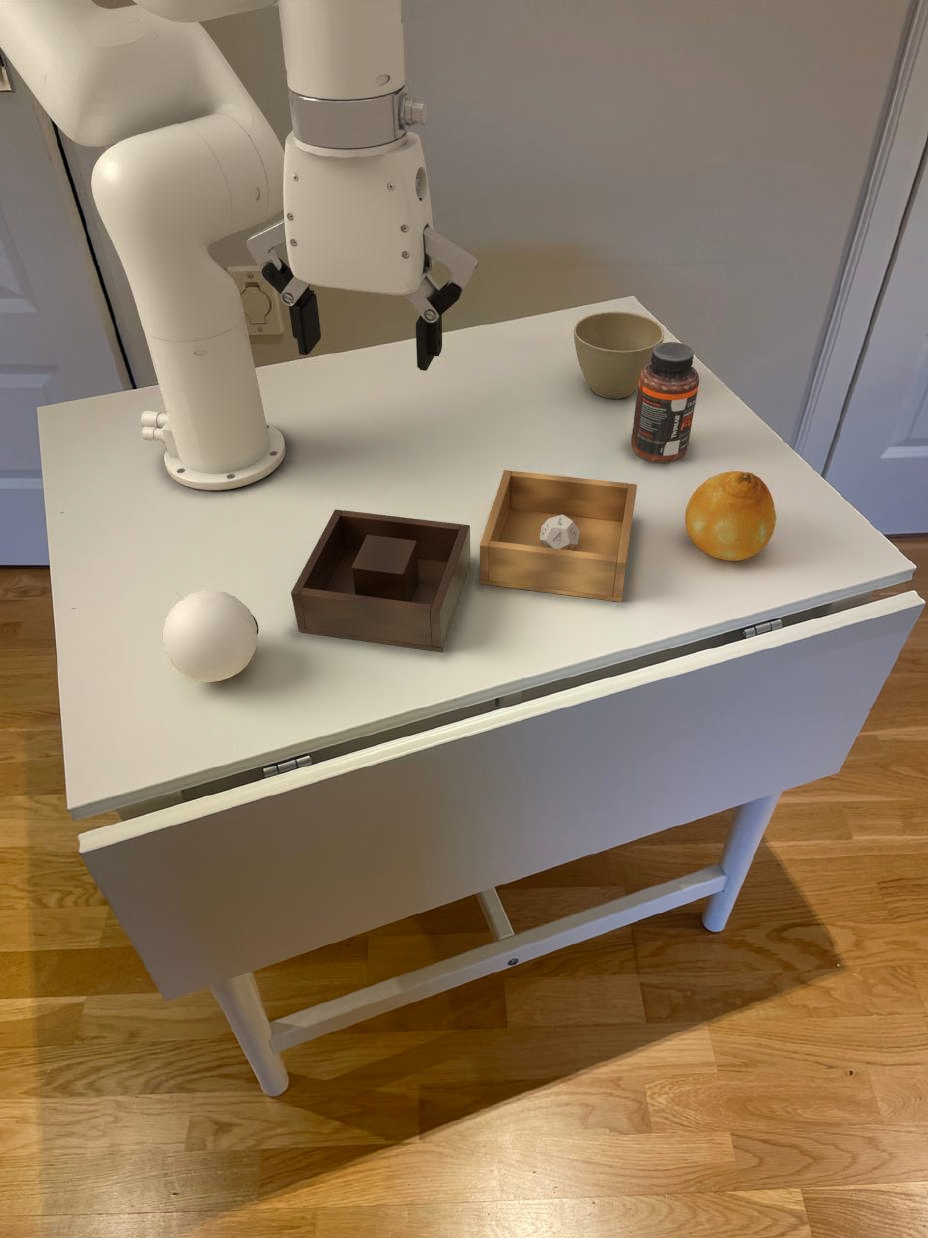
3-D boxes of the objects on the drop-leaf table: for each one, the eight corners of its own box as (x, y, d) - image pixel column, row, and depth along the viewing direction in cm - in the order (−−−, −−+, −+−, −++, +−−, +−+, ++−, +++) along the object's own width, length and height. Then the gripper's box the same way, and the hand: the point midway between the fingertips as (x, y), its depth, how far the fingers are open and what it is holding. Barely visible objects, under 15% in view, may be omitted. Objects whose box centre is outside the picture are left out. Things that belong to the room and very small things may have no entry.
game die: (580, 537, 85) (582, 512, 83) (574, 562, 83) (577, 537, 81) (543, 533, 86) (544, 507, 84) (536, 557, 83) (537, 532, 81)
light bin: (480, 584, 82) (479, 544, 78) (503, 507, 90) (504, 469, 87) (621, 602, 79) (626, 562, 76) (632, 522, 88) (637, 483, 84)
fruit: (797, 557, 80) (789, 466, 78) (708, 574, 79) (697, 483, 77) (760, 544, 88) (751, 461, 86) (678, 560, 87) (668, 477, 85)
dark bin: (298, 631, 78) (290, 592, 74) (340, 547, 86) (334, 508, 83) (441, 652, 75) (439, 612, 72) (470, 563, 84) (470, 524, 80)
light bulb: (278, 680, 74) (262, 614, 68) (188, 713, 71) (165, 648, 66) (241, 606, 80) (224, 541, 75) (157, 635, 78) (134, 569, 73)
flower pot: (662, 409, 102) (670, 350, 97) (573, 410, 103) (577, 352, 98) (650, 366, 110) (657, 309, 105) (567, 367, 110) (570, 310, 105)
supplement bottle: (686, 467, 94) (704, 367, 86) (628, 462, 95) (640, 362, 87) (687, 436, 98) (704, 338, 90) (632, 431, 99) (644, 334, 91)
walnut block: (356, 606, 79) (351, 567, 76) (371, 573, 82) (366, 534, 79) (406, 613, 78) (403, 574, 75) (419, 579, 81) (416, 540, 78)
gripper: (490, 108, 61) (485, 344, 73) (249, 89, 64) (283, 320, 76) (463, 144, 55) (463, 392, 68) (202, 122, 58) (246, 364, 70)
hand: (368, 354), depth 72 cm, fingers open, 9 cm apart
